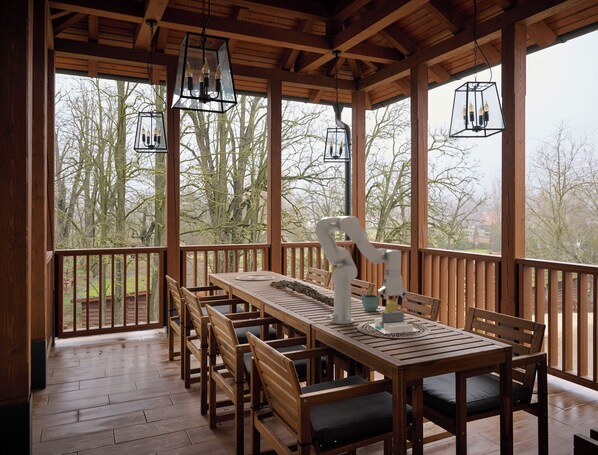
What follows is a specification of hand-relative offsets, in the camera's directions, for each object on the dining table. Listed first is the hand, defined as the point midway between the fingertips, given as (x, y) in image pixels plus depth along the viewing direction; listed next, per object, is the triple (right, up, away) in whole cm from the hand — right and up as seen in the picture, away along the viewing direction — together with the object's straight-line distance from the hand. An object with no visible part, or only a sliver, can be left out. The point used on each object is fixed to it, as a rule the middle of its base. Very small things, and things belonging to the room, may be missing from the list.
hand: (391, 305), depth 247 cm
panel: (+1, -12, 0) cm, 12 cm away
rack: (+1, -12, 0) cm, 12 cm away
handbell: (+6, -11, +33) cm, 35 cm away
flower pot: (-5, -11, +44) cm, 46 cm away
